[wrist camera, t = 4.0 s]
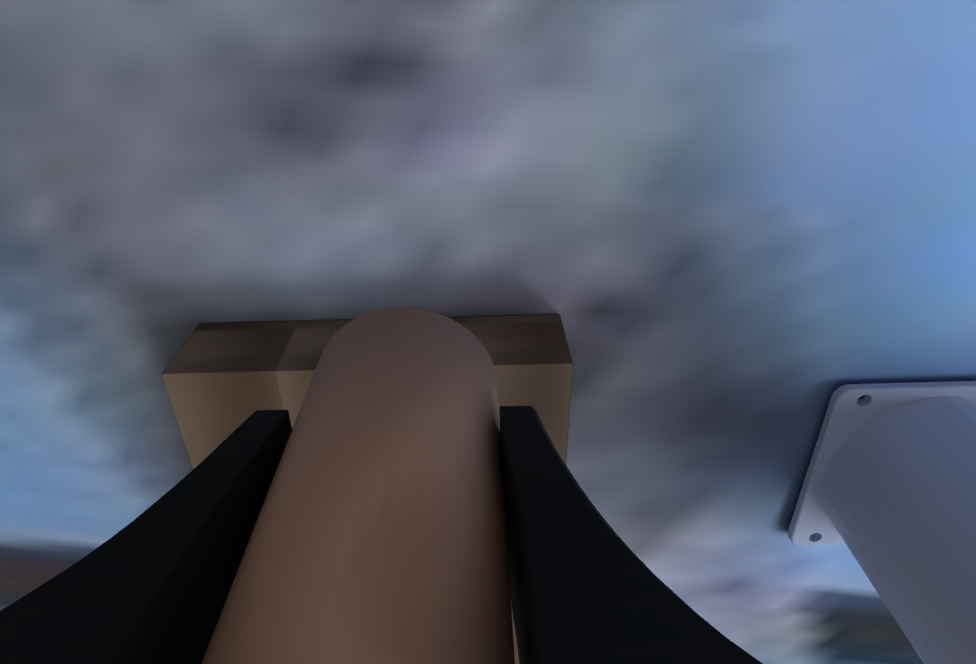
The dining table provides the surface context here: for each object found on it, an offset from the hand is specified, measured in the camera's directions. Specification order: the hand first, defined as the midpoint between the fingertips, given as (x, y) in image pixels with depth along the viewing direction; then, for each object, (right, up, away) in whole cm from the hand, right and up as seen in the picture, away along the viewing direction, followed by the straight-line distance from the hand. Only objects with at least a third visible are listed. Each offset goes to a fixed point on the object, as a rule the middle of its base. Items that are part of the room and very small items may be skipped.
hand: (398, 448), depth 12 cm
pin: (0, +1, +2) cm, 2 cm away
